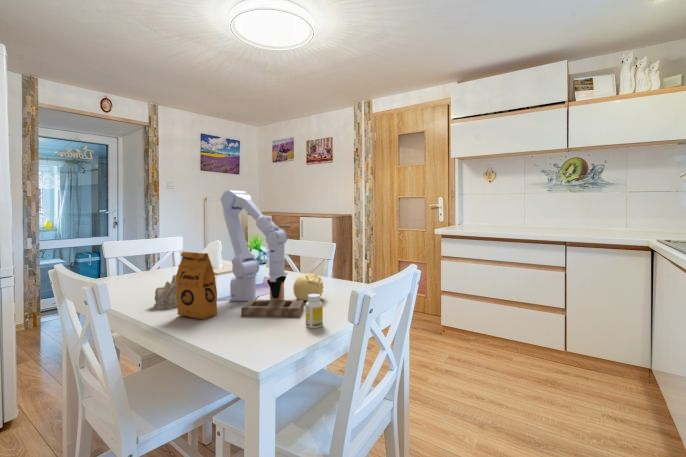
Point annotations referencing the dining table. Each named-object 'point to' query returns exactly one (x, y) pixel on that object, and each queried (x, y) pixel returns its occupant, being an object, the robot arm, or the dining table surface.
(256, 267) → the robot arm
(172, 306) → the ceramic cottage
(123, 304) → the dining table surface
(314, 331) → the dining table surface
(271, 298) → the square peg
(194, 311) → the coffee package
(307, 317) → the supplement bottle
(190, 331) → the dining table surface
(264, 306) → the socket board
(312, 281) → the sculpture
